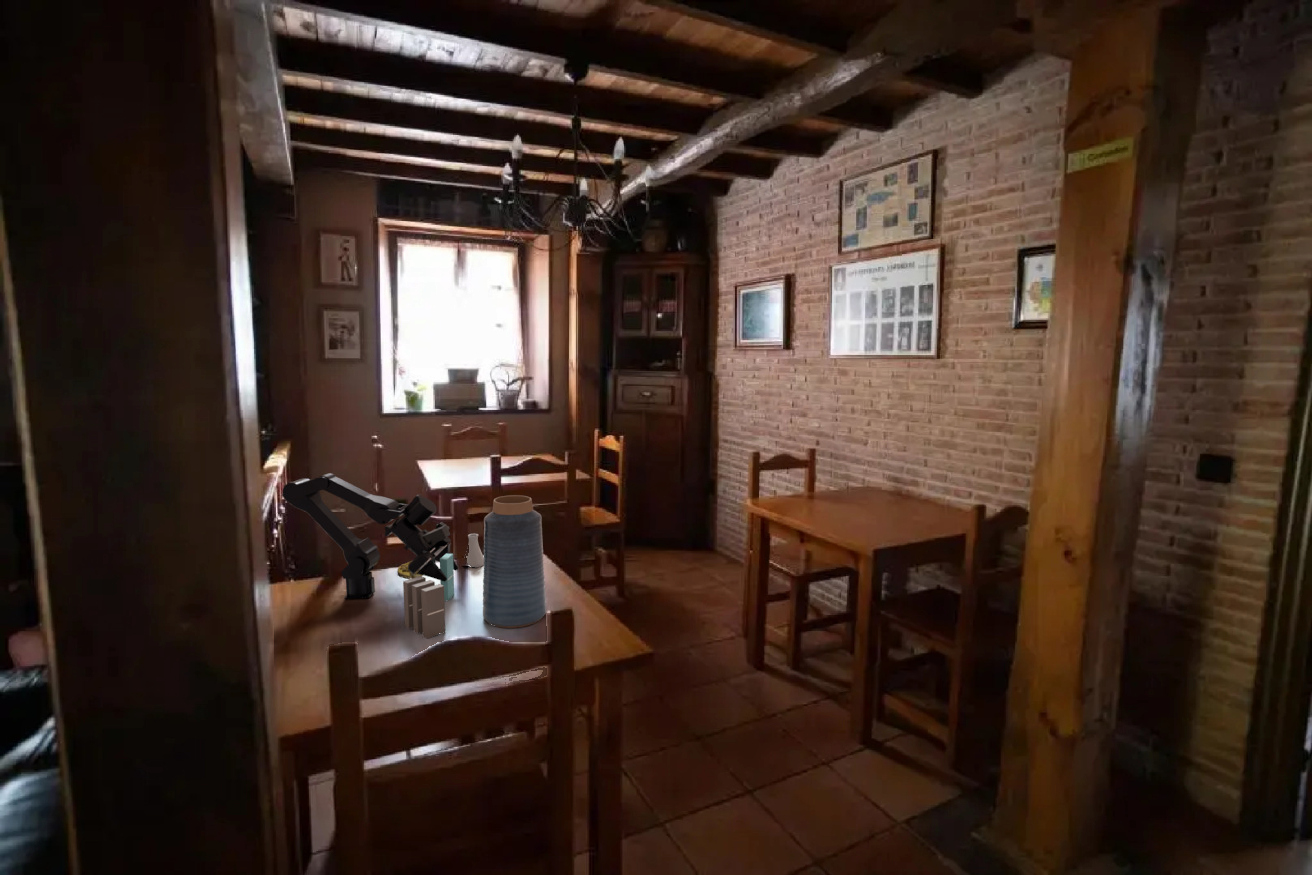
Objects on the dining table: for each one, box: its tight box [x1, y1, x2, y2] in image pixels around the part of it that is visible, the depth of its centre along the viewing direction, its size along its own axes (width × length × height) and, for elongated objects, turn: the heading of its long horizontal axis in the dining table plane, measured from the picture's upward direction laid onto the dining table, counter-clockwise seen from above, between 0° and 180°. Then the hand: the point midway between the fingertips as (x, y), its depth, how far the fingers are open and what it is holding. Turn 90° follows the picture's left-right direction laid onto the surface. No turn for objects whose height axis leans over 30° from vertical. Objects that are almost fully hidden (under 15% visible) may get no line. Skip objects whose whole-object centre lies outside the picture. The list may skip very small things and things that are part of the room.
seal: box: [397, 559, 424, 580], centre depth 206 cm, size 9×5×15 cm
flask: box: [466, 533, 484, 569], centre depth 212 cm, size 7×7×10 cm
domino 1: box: [402, 576, 427, 630], centre depth 166 cm, size 2×5×12 cm, turn 140°
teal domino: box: [439, 553, 455, 601], centre depth 184 cm, size 2×5×12 cm, turn 178°
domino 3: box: [421, 583, 446, 639], centre depth 160 cm, size 2×5×12 cm, turn 140°
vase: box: [482, 494, 547, 629], centre depth 170 cm, size 16×16×32 cm
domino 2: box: [412, 579, 436, 635], centre depth 163 cm, size 2×5×12 cm, turn 140°
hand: (451, 574), depth 184 cm, fingers open, 9 cm apart
